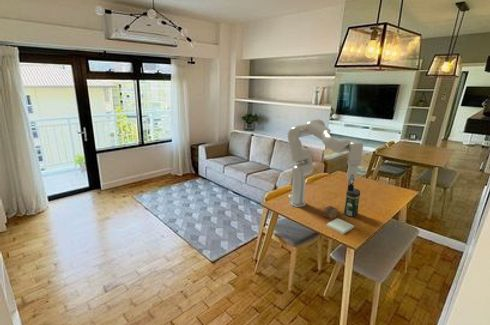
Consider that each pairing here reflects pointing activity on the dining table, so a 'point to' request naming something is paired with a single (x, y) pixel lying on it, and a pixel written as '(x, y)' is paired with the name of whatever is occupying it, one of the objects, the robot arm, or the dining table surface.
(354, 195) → the coffee jar
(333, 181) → the dining table surface
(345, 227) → the plate
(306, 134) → the robot arm
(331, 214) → the walnut cube
